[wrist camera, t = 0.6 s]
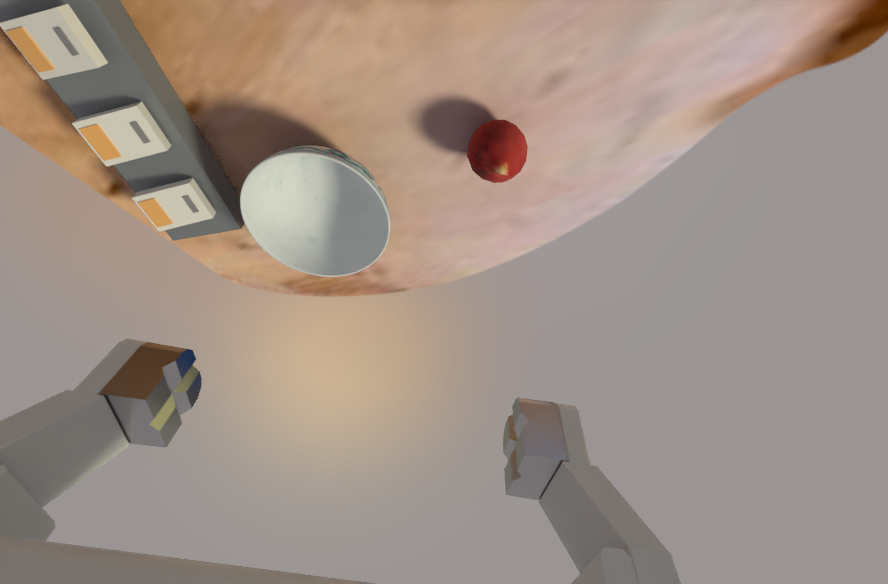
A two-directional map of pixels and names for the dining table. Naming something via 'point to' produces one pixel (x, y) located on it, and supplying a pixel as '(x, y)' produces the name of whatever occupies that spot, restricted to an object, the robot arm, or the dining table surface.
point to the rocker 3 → (174, 204)
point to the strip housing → (143, 80)
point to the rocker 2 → (122, 134)
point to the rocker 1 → (54, 42)
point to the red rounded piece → (497, 151)
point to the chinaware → (316, 211)
